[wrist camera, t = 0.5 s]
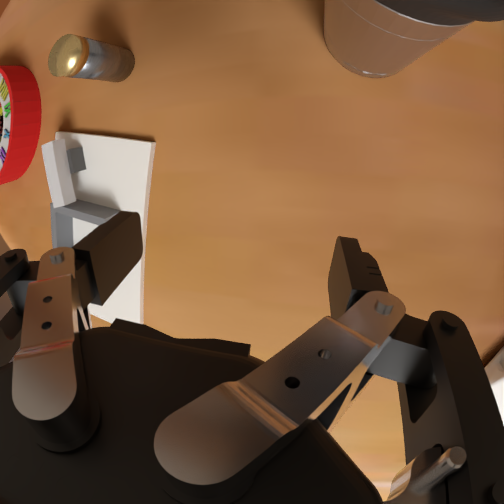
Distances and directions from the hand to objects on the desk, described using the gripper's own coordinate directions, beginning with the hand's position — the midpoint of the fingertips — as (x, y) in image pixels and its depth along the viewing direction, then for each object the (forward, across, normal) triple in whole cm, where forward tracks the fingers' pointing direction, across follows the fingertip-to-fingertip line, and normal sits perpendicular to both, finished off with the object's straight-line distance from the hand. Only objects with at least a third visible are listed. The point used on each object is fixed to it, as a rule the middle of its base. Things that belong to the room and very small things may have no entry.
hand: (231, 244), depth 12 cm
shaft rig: (+21, +23, +12) cm, 33 cm away
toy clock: (+25, +44, -4) cm, 50 cm away
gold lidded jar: (+23, +19, -10) cm, 31 cm away
